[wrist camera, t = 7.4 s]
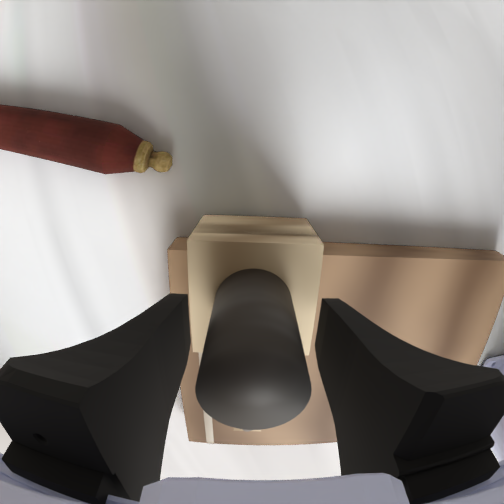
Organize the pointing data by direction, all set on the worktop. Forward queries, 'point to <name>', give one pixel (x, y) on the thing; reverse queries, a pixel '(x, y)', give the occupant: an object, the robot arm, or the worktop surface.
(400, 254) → the board
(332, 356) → the robot arm
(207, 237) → the rubber stamp
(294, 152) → the worktop surface
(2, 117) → the gavel
